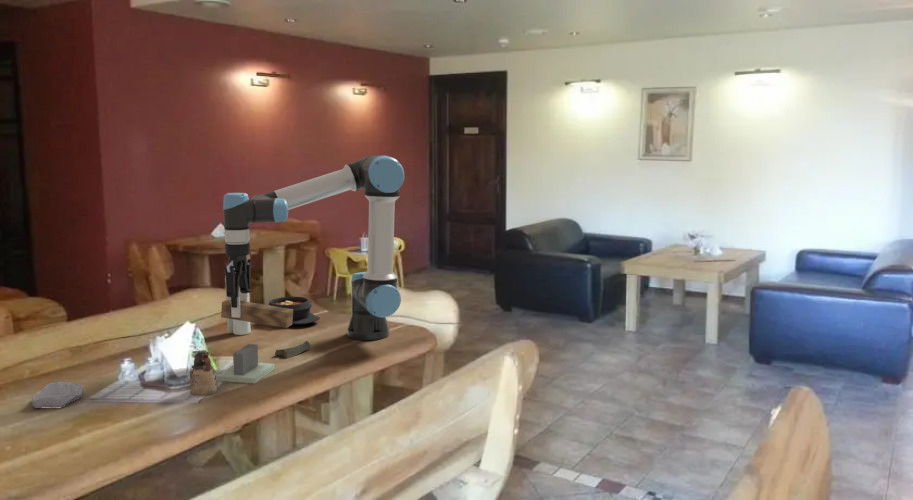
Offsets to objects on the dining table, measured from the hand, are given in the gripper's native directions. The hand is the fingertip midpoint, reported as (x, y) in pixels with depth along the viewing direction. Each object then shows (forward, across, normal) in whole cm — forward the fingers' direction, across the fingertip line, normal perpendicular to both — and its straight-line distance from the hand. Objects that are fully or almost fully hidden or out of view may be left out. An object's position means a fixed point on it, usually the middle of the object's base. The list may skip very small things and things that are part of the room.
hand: (240, 315), depth 235 cm
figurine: (+15, +29, +3) cm, 33 cm away
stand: (+15, +13, +8) cm, 21 cm away
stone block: (+15, +44, -31) cm, 56 cm away
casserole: (+15, -49, -4) cm, 51 cm away
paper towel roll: (+15, -30, -15) cm, 36 cm away
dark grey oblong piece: (+15, -11, +13) cm, 23 cm away
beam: (+2, 0, +6) cm, 6 cm away
